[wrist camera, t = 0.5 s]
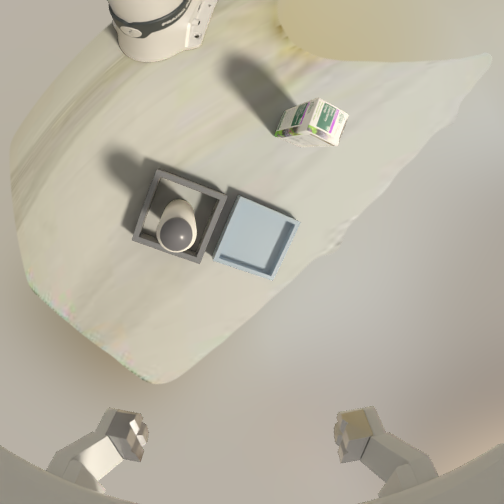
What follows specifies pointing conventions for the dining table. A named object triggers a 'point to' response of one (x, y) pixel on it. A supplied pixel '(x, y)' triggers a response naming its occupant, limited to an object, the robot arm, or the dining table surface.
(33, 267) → the dining table surface
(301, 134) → the syrup box
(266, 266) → the tray
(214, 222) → the frame
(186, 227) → the canister
